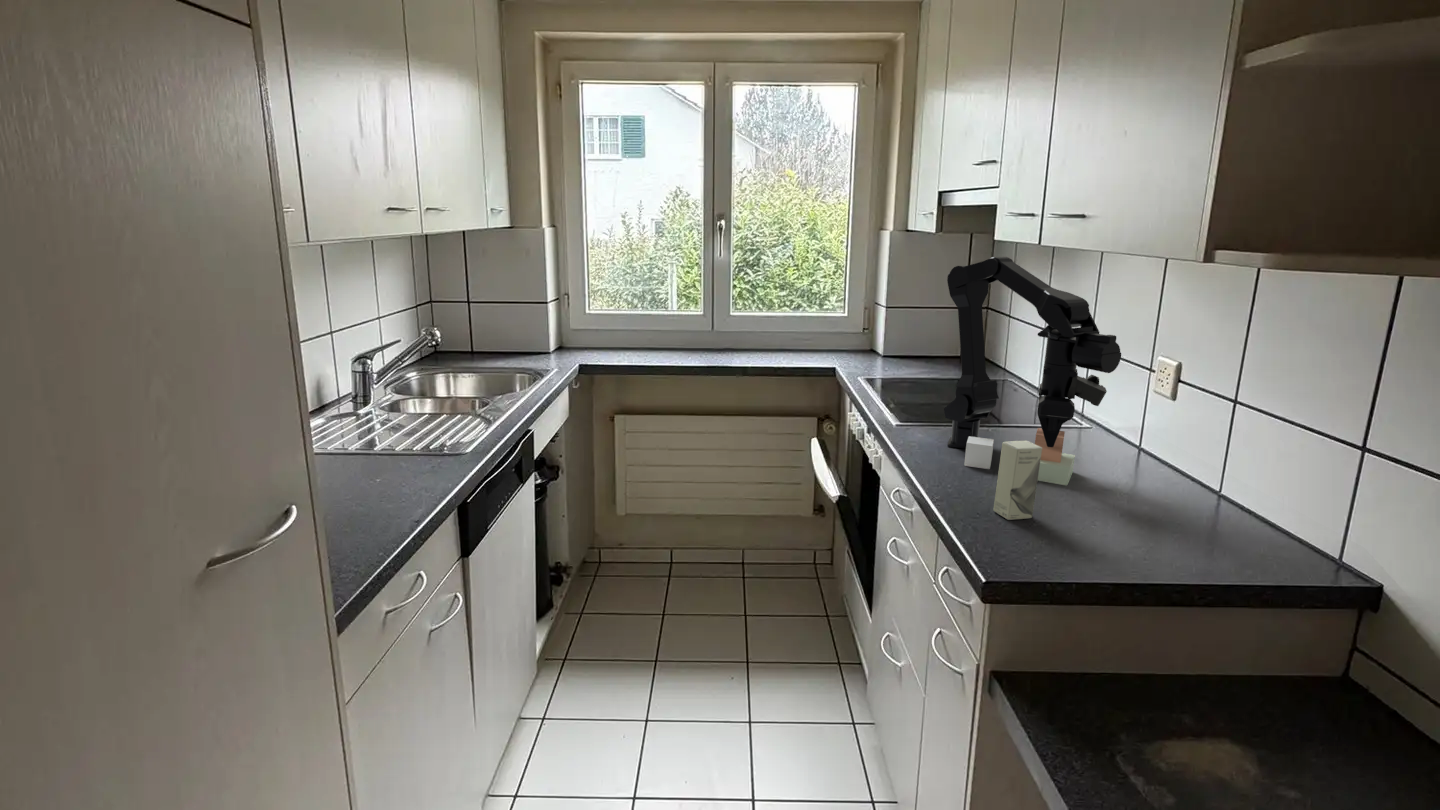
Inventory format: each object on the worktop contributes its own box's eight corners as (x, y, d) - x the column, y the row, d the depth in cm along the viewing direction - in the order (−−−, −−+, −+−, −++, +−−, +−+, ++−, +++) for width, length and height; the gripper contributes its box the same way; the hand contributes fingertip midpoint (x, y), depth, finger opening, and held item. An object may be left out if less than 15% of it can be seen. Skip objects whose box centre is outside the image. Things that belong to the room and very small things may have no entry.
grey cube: (966, 458, 163) (968, 436, 162) (991, 462, 161) (993, 439, 160) (964, 466, 159) (966, 442, 157) (989, 469, 157) (992, 446, 156)
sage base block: (1025, 466, 160) (1027, 447, 159) (1072, 473, 156) (1075, 455, 155) (1017, 478, 153) (1020, 459, 152) (1066, 487, 149) (1069, 467, 148)
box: (1007, 521, 131) (1016, 449, 128) (992, 511, 135) (1000, 441, 132) (1034, 518, 133) (1043, 446, 129) (1018, 508, 137) (1027, 439, 133)
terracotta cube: (1034, 451, 157) (1037, 427, 155) (1061, 455, 155) (1064, 431, 153) (1032, 458, 152) (1035, 434, 151) (1060, 462, 150) (1063, 438, 149)
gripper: (1110, 376, 137) (1097, 460, 141) (1103, 358, 154) (1092, 433, 158) (1042, 370, 141) (1032, 451, 145) (1043, 353, 158) (1034, 426, 162)
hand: (1050, 440), depth 153 cm, fingers open, 9 cm apart
